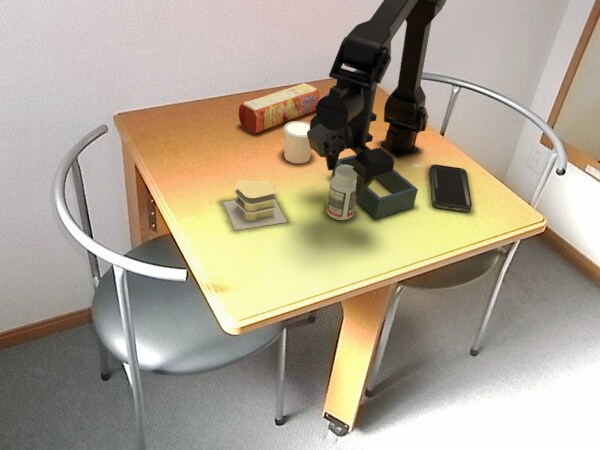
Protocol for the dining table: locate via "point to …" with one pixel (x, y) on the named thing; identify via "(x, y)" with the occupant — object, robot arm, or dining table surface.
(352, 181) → the pill bottle
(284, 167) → the dining table surface
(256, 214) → the stacked layers on plate
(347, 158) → the bin
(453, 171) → the phone
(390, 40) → the robot arm
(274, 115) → the snack package
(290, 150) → the white cup
